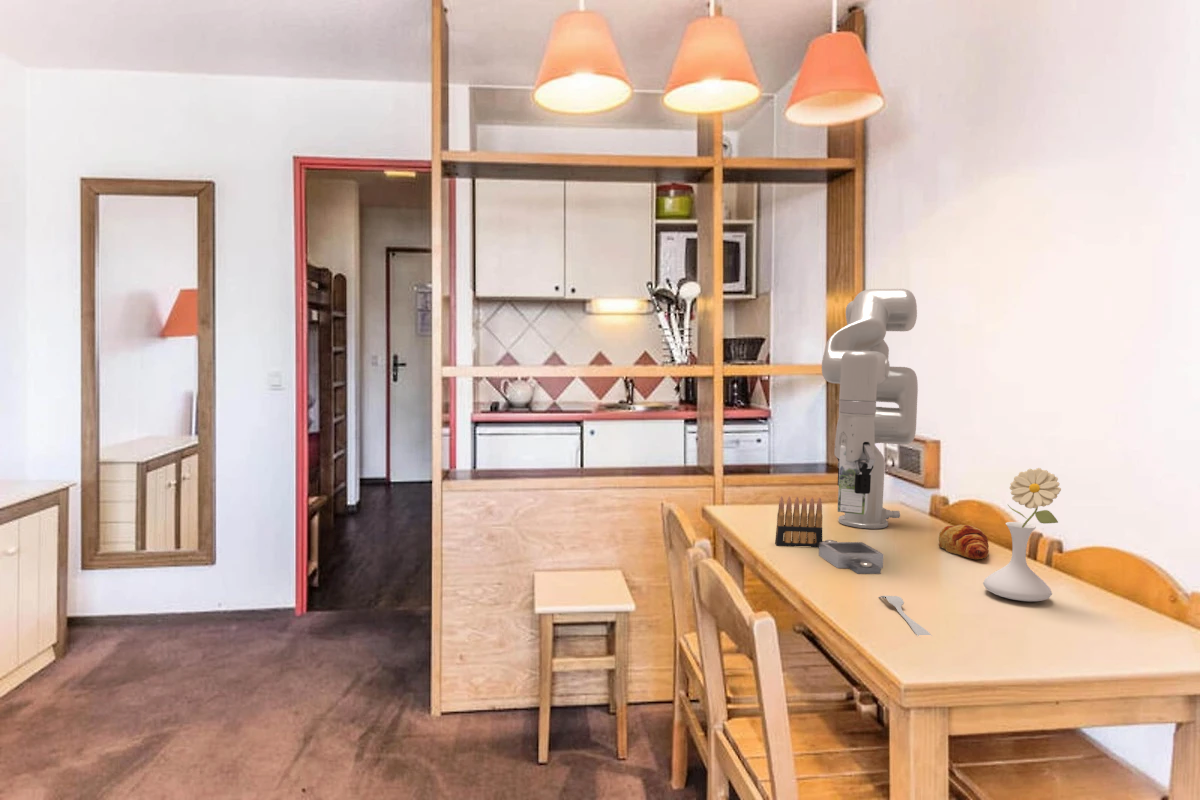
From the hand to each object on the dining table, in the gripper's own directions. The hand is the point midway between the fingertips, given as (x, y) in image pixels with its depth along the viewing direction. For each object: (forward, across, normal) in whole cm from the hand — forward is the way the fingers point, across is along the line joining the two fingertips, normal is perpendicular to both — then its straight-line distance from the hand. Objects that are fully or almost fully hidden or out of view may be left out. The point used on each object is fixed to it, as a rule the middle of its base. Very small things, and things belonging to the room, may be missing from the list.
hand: (853, 489), depth 162 cm
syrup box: (+5, 0, 0) cm, 5 cm away
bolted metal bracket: (+16, -2, 0) cm, 16 cm away
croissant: (+16, -8, +32) cm, 37 cm away
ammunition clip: (+17, -14, -6) cm, 22 cm away
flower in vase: (+16, +25, +22) cm, 37 cm away
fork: (+17, +33, -6) cm, 38 cm away
